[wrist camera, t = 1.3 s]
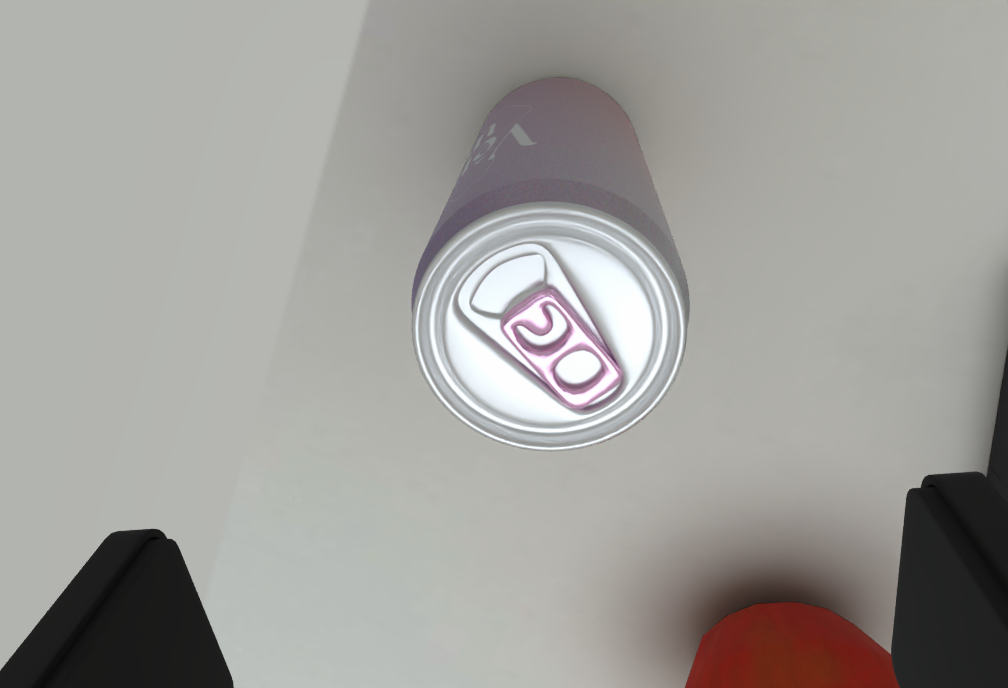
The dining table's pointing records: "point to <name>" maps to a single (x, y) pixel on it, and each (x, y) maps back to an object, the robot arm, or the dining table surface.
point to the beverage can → (551, 277)
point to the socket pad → (1001, 443)
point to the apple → (789, 651)
